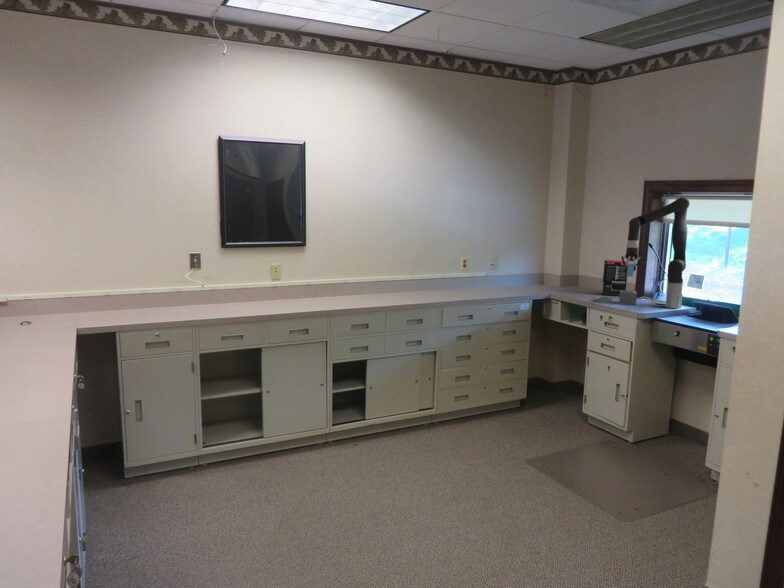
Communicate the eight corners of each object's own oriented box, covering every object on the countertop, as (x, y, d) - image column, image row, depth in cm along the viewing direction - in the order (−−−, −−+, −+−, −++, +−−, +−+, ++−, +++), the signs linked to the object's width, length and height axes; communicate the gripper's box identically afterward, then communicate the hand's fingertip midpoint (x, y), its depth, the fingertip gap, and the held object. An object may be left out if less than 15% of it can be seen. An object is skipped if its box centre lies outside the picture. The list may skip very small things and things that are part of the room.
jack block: (635, 303, 409) (636, 291, 408) (635, 305, 399) (636, 293, 397) (595, 299, 419) (596, 288, 417) (595, 302, 409) (596, 290, 407)
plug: (632, 276, 404) (634, 263, 402) (632, 276, 400) (634, 264, 399) (626, 275, 405) (627, 263, 404) (626, 276, 402) (627, 263, 400)
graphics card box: (623, 295, 444) (626, 260, 440) (626, 296, 437) (629, 261, 433) (600, 294, 446) (603, 259, 441) (603, 295, 439) (606, 260, 435)
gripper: (643, 247, 400) (641, 271, 403) (621, 246, 405) (619, 270, 408) (643, 247, 393) (641, 272, 396) (621, 246, 399) (619, 271, 401)
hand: (630, 271), depth 402 cm, fingers closed on plug, 4 cm apart
